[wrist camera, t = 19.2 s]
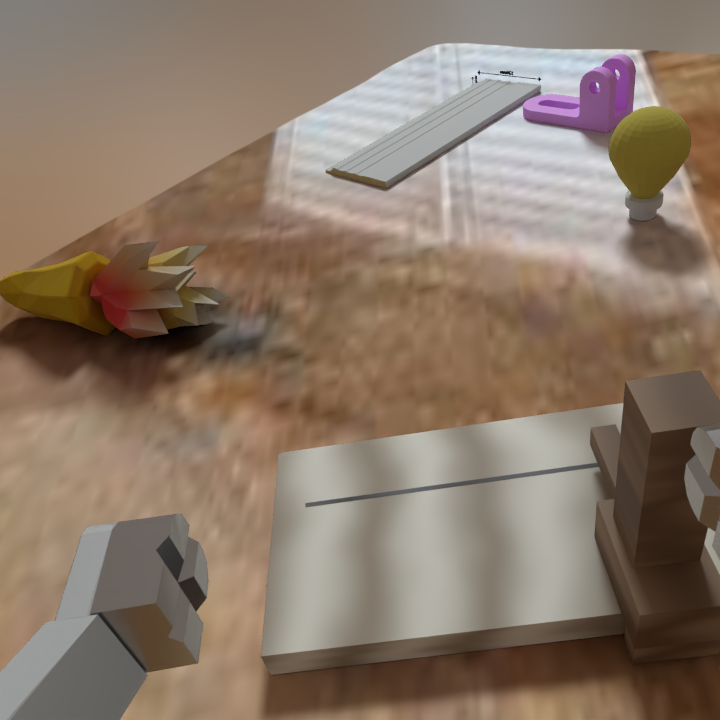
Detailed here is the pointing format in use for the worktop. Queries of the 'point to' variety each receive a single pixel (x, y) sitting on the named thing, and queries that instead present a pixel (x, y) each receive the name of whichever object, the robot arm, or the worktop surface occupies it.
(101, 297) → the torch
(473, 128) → the baseboard molding
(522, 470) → the birch board
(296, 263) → the worktop surface
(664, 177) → the light bulb
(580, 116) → the bracket
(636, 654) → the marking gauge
